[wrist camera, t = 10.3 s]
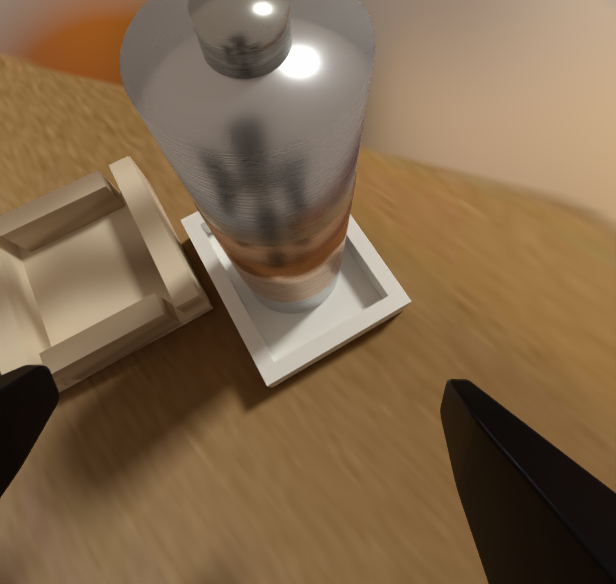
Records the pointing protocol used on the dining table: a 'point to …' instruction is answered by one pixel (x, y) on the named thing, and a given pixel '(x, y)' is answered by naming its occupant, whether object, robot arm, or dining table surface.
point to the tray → (311, 324)
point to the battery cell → (260, 127)
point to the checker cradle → (91, 276)
